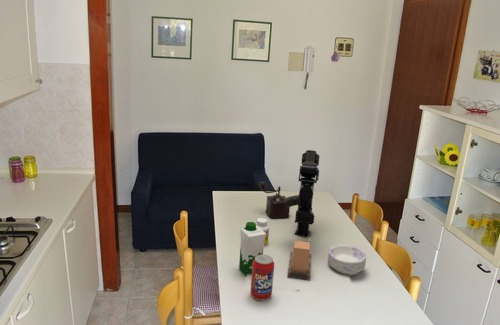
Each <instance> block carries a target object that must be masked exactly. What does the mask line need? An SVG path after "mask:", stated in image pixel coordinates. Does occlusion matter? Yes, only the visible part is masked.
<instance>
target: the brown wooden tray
mask: <svg viewBox="0 0 500 325" xmlns="http://www.w3.org/2000/svg"><path fill="white" fill-rule="evenodd" d="M293 252H294V251H290V254H289V263H288V268H287V275H286V276H287V278H288V279H295V280H301V281H303V280H304V281H309V282H310V281H311V276H312V274H311V269H312V253H309V259H308V268H307V274H306V273H298V272H292V262H293Z"/></svg>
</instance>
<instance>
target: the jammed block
mask: <svg viewBox="0 0 500 325" xmlns="http://www.w3.org/2000/svg"><path fill="white" fill-rule="evenodd" d="M310 245H311V244H310V242H308V241H301V240H294V245H293V251H292V252H293V257H292V265H291V272H298V273H306V274H308V259H309V254H310V249H311V248H310V247H311V246H310Z"/></svg>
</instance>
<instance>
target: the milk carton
mask: <svg viewBox="0 0 500 325" xmlns="http://www.w3.org/2000/svg"><path fill="white" fill-rule="evenodd" d="M256 224H257V222H253V221H249V222H248V221H247V222H246V223H245V227H242V228H241V227H240V249H239V260H238V261H239V262H238V263H239V265H238V269H239V270H240V272H241V273H243V275H244V276H245V277H248V275H252V263H253V260H254V259H255V257H256V256H257V255H264V247H265V246H264V240H265V237H266V233H265V232H264V231H263V230H262V229H260V228H259V227H258V226H256Z"/></svg>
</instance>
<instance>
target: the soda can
mask: <svg viewBox="0 0 500 325" xmlns="http://www.w3.org/2000/svg"><path fill="white" fill-rule="evenodd" d="M274 273H275V261H274V258H273V257H272V256H270V255H268V254H263V255H257V256H256V257H255V259H254V260H253V263H252V274H251V277H250V278H251V279H250V280H251V281H250V282H251V283H250V295H251V297H253V298H254V299H256V300H259V301H261V300H262V301H264V300H265V301H266V300H268V299H270V298H271V297H272V295H273V285H274Z"/></svg>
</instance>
